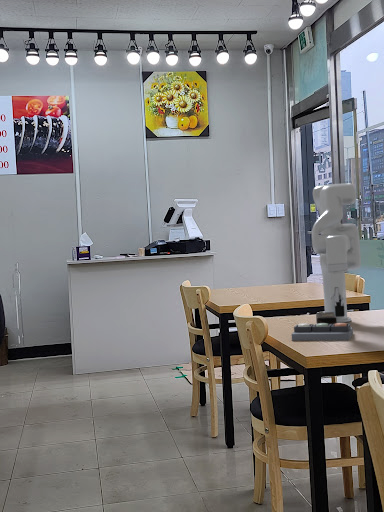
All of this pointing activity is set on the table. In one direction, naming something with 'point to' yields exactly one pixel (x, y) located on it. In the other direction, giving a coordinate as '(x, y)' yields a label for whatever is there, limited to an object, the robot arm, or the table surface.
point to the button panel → (322, 332)
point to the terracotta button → (341, 324)
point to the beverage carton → (326, 317)
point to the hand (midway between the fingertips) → (340, 316)
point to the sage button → (321, 324)
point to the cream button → (304, 325)
